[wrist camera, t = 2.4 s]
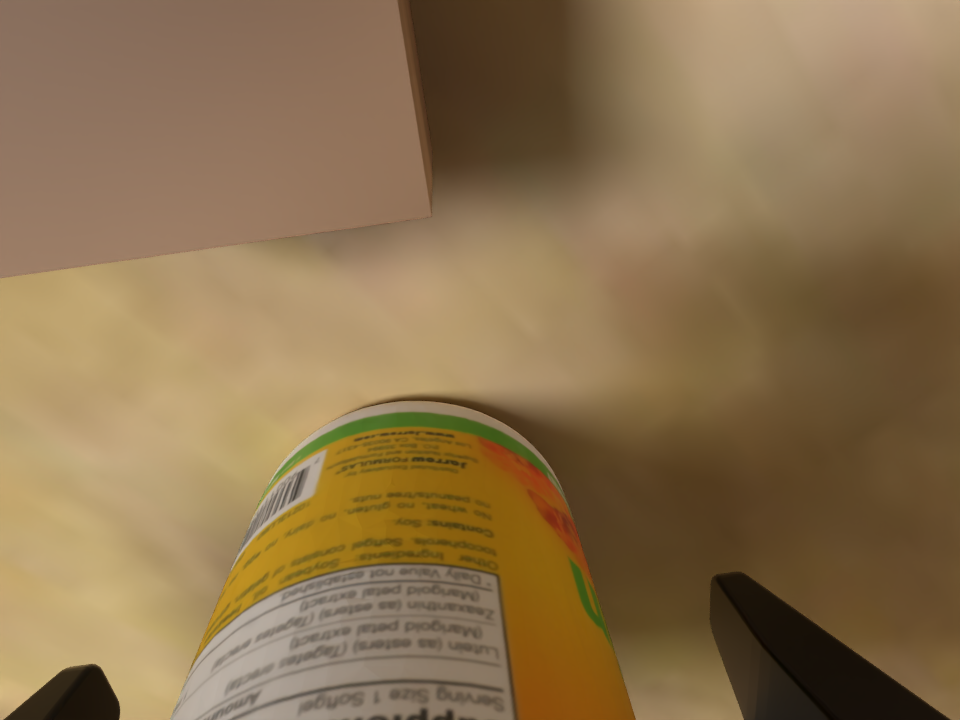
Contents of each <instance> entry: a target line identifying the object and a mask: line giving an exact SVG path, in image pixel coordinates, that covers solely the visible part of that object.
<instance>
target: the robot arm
mask: <svg viewBox="0 0 960 720" xmlns="http://www.w3.org/2000/svg"><path fill="white" fill-rule="evenodd" d="M710 625H711V629H712V633H713V636H714V639H715V641H716V644H717V647H718V650H719V652H720V655H721V658H722V660H723V663H724V666H725V669H726V671H727V674H728V677H729V680H730V682H731V685H732V688H733V690H734V693H735V696H736V699H737V701H738V704H739V707H740V709H741V712H742V715H743V718H744V720H950V719H949V718H947V717H946V716H945V715H943V714H942V713H940V712H939V711H938V710H936V709H935V708H933V707H932V706H930V705H929V704H928V703H926V702H925V701H923V700H922V699H921V698H919V697H918V696H916V695H915V694H914V693H912V692H911V691H909V690H908V689H907V688H905V687H904V686H902V685H901V684H900V683H898V682H897V681H895V680H894V679H892V678H891V677H890V676H888V675H887V674H885V673H884V672H883V671H881V670H880V669H878V668H877V667H876V666H874V665H873V664H871V663H870V662H869V661H867V660H866V659H864V658H863V657H862V656H860V655H859V654H857V653H856V652H854V651H853V650H852V649H850V648H849V647H847V646H846V645H845V644H843V643H842V642H840V641H839V640H838V639H836V638H835V637H833V636H832V635H831V634H829V633H828V632H826V631H825V630H823V629H822V628H821V627H819V626H818V625H816V624H815V623H814V622H812V621H811V620H809V619H808V618H807V617H805V616H804V615H802V614H801V613H800V612H798V611H797V610H795V609H794V608H793V607H791V606H790V605H788V604H787V603H785V602H784V601H783V600H781V599H780V598H778V597H777V596H776V595H774V594H773V593H771V592H770V591H769V590H767V589H766V588H764V587H763V586H762V585H760V584H759V583H757V582H756V581H755V580H753V579H752V578H750V577H749V576H747V575H746V574H744V573H742V572H731V573H724V574H717V575H715V576H713V577H712V580H711V590H710ZM119 718H120V706H119V701H118V699H117V697H116V695H115V693H114V691H113V689H112V687H111V686H110V684H109V682H108V680H107V678H106V676H105V674H104V672H103V670H102V669H101V667H99V666H97V665H96V664H88V665H81V666H74V667H69V668H66V669H64V670H62V671H61V672H60V673H58V674H57V675H56V676H55V677H54V678H52V679H51V680H50V681H49V682H48V683H46V684H45V685H44V686H43V687H42V688H41V689H39V690H38V691H37V692H36V693H35V694H33V695H32V696H31V697H30V698H29V699H28V700H26V701H25V702H24V703H23V704H22V705H20V706H19V707H18V708H17V709H16V710H15V711H13V712H12V713H11V714H10V715H9V716H7V717H6V718H5V719H4V720H119Z"/></svg>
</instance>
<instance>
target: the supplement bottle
mask: <svg viewBox="0 0 960 720" xmlns="http://www.w3.org/2000/svg"><path fill="white" fill-rule="evenodd" d="M170 720H636V718H635V715H634V712H633V709H632V706H631V702H630V699H629V696H628V693H627V689H626V686H625V683H624V680H623V677H622V673H621V670H620V667H619V664H618V660H617V657H616V654H615V651H614V648H613V644H612V641H611V638H610V635H609V631H608V628H607V625H606V622H605V619H604V615H603V612H602V609H601V606H600V603H599V600H598V597H597V594H596V591H595V587H594V584H593V581H592V578H591V574H590V571H589V568H588V565H587V562H586V559H585V555H584V552H583V549H582V546H581V543H580V540H579V536H578V533H577V530H576V527H575V524H574V520H573V517H572V514H571V511H570V508H569V505H568V503H567V500H566V498H565V495H564V492H563V490H562V488H561V485H560V483H559V481H558V479H557V477H556V475H555V474H554V472H553V470H552V469H551V467H550V466H549V464H548V463H547V461H546V460H545V459H544V457H543V456H542V455H541V454H540V453H539V452H538V451H537V450H536V448H535V447H534V446H533V445H532V444H531V443H529V442H528V441H527V440H526V439H525V438H524V437H523V436H521V435H520V434H519V433H518V432H516V431H515V430H513V429H512V428H510V427H509V426H507V425H506V424H504V423H502V422H500V421H498V420H496V419H494V418H492V417H490V416H488V415H486V414H483V413H481V412H478V411H475V410H472V409H469V408H466V407H462V406H458V405H453V404H447V403H441V402H431V401H398V402H391V403H384V404H379V405H375V406H370V407H366V408H362V409H359V410H356V411H353V412H351V413H348V414H346V415H344V416H342V417H340V418H338V419H335V420H333V421H331V422H330V423H328V424H326V425H325V426H323V427H322V428H320V429H318V430H317V431H315V432H314V433H313V434H311V435H310V436H309V437H307V438H306V439H305V440H303V441H302V442H301V443H300V444H299V445H298V446H297V447H296V448H295V449H294V450H293V451H292V452H291V453H290V454H289V455H288V456H287V457H286V458H285V459H284V461H283V462H282V463H281V465H280V466H279V467H278V469H277V470H276V472H275V474H274V475H273V477H272V479H271V480H270V482H269V484H268V486H267V488H266V490H265V492H264V494H263V496H262V498H261V500H260V502H259V504H258V506H257V509H256V511H255V513H254V516H253V518H252V520H251V523H250V525H249V527H248V530H247V532H246V535H245V537H244V540H243V542H242V544H241V547H240V549H239V551H238V554H237V556H236V559H235V561H234V564H233V566H232V568H231V571H230V574H229V576H228V578H227V581H226V583H225V585H224V588H223V590H222V593H221V595H220V598H219V600H218V603H217V605H216V608H215V610H214V613H213V615H212V617H211V620H210V622H209V625H208V627H207V630H206V632H205V634H204V637H203V639H202V642H201V644H200V647H199V649H198V652H197V654H196V656H195V659H194V661H193V664H192V666H191V669H190V671H189V674H188V676H187V679H186V681H185V684H184V686H183V689H182V691H181V694H180V697H179V699H178V701H177V704H176V706H175V709H174V711H173V713H172V716H171V718H170Z"/></svg>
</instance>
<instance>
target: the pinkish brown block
mask: <svg viewBox="0 0 960 720" xmlns="http://www.w3.org/2000/svg"><path fill="white" fill-rule="evenodd" d="M432 165H433V151H432V145H431V138H430V132H429V125H428V118H427V112H426V105H425V99H424V92H423V85H422V79H421V72H420V66H419V59H418V52H417V46H416V39H415V33H414V26H413V19H412V13H411V6H410V0H0V278H5V277H12V276H19V275H26V274H33V273H40V272H47V271H54V270H61V269H68V268H75V267H82V266H89V265H96V264H103V263H111V262H118V261H125V260H132V259H139V258H146V257H153V256H160V255H167V254H174V253H181V252H188V251H195V250H202V249H209V248H216V247H223V246H230V245H237V244H245V243H252V242H259V241H266V240H273V239H280V238H287V237H294V236H301V235H308V234H315V233H322V232H329V231H336V230H343V229H350V228H357V227H364V226H372V225H379V224H386V223H393V222H400V221H407V220H414V219H421V218H428V217H432Z"/></svg>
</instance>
